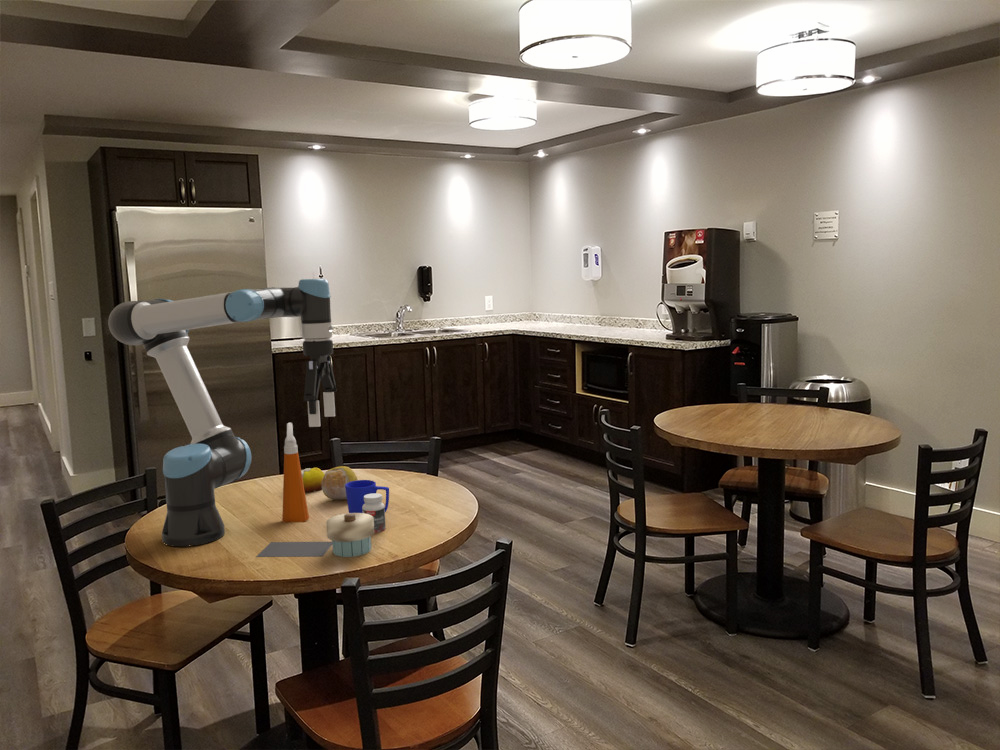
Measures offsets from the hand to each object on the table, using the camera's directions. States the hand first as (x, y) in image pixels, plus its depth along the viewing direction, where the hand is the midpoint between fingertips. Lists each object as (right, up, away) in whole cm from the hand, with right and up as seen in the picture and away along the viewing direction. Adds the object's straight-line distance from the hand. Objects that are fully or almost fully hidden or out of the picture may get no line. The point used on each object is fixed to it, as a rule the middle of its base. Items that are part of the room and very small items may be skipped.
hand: (322, 421), depth 203 cm
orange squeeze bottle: (-10, -28, +14) cm, 33 cm away
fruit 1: (-15, -24, +44) cm, 52 cm away
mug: (+10, -28, +10) cm, 31 cm away
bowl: (+11, -31, -16) cm, 36 cm away
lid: (+10, -26, -16) cm, 32 cm away
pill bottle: (+14, -29, -1) cm, 32 cm away
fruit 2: (-1, -25, +30) cm, 39 cm away
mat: (-3, -31, -14) cm, 34 cm away
